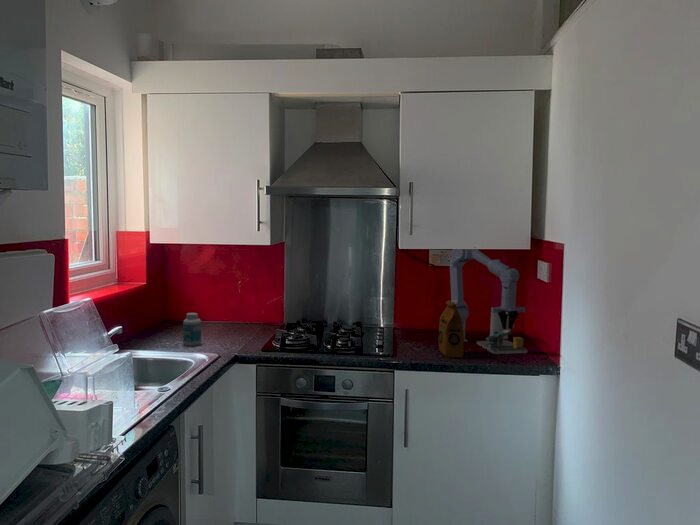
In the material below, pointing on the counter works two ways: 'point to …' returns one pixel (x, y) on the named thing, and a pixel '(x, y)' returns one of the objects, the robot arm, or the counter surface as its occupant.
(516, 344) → the slider knob
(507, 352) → the panel
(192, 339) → the pill bottle
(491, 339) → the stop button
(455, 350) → the coffee package
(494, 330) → the mug
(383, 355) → the counter surface
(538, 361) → the counter surface
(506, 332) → the teal tile with stripe
